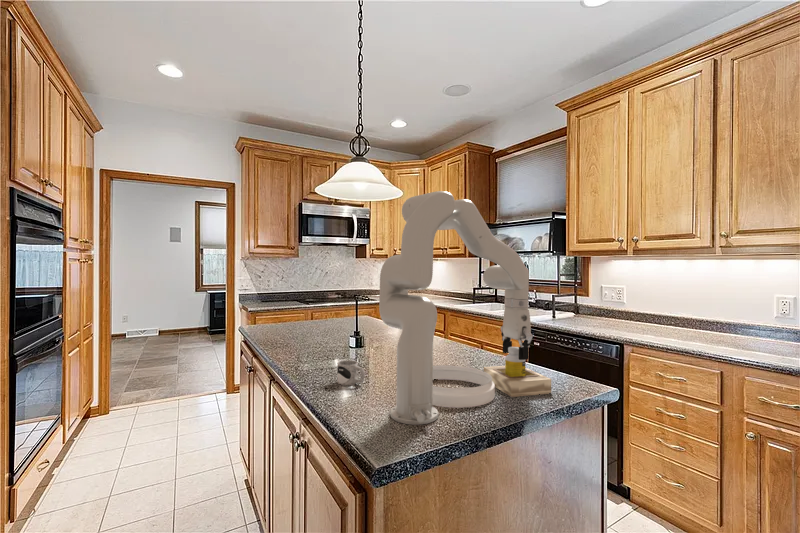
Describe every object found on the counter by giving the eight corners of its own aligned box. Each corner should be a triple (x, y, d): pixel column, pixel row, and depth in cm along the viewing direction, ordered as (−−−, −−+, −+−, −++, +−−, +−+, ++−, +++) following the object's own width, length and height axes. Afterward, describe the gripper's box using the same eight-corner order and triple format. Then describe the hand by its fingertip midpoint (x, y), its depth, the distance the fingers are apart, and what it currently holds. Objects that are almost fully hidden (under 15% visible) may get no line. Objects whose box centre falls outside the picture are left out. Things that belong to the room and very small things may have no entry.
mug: (333, 383, 130) (333, 363, 130) (345, 378, 136) (345, 359, 136) (357, 388, 125) (358, 367, 125) (369, 383, 131) (369, 363, 131)
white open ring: (496, 412, 107) (496, 392, 107) (400, 404, 112) (400, 385, 112) (493, 383, 133) (493, 367, 133) (415, 377, 139) (415, 362, 139)
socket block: (551, 393, 122) (551, 378, 122) (511, 397, 118) (511, 381, 118) (519, 377, 139) (519, 364, 139) (483, 380, 136) (483, 366, 136)
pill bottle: (521, 387, 124) (521, 351, 124) (501, 383, 128) (502, 348, 128) (528, 382, 129) (528, 347, 129) (509, 379, 133) (509, 345, 133)
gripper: (542, 306, 121) (540, 361, 121) (512, 301, 138) (511, 350, 138) (520, 306, 119) (519, 362, 119) (493, 301, 136) (491, 351, 136)
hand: (515, 356), depth 128 cm, fingers open, 9 cm apart
